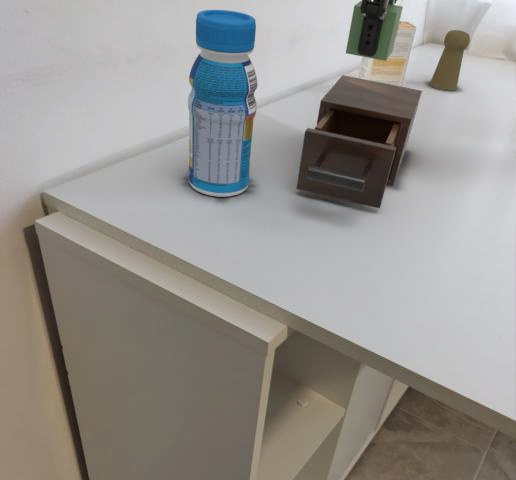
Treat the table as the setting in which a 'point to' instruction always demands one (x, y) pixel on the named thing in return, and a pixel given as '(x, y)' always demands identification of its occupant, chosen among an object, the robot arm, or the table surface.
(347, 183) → the drawer
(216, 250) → the table surface
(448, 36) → the olive pawn
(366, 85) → the cabinet
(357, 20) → the block
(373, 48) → the robot arm
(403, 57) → the supplement box
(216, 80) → the beverage bottle
